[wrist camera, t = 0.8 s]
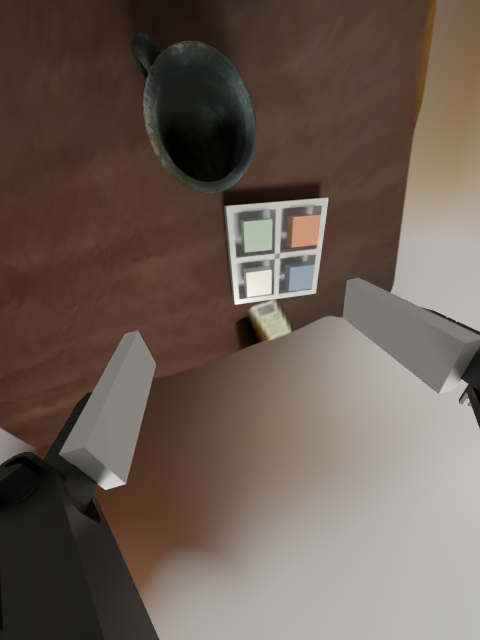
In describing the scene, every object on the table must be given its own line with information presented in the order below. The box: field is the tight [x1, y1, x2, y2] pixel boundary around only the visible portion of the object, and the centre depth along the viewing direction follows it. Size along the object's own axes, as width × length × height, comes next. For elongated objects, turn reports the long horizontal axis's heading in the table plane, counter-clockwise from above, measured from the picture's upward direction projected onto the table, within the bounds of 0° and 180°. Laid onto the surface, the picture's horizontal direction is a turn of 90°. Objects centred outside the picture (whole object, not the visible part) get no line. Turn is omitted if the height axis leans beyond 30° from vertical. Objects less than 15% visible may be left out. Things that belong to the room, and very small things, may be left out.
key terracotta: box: [286, 214, 321, 248], centre depth 35 cm, size 5×5×3 cm
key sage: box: [240, 218, 272, 253], centre depth 34 cm, size 5×5×3 cm
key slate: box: [284, 261, 315, 292], centre depth 39 cm, size 5×5×3 cm
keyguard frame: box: [224, 198, 329, 305], centre depth 38 cm, size 17×17×3 cm
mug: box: [130, 31, 257, 193], centre depth 24 cm, size 11×15×12 cm
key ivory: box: [243, 266, 272, 297], centre depth 38 cm, size 5×5×3 cm
